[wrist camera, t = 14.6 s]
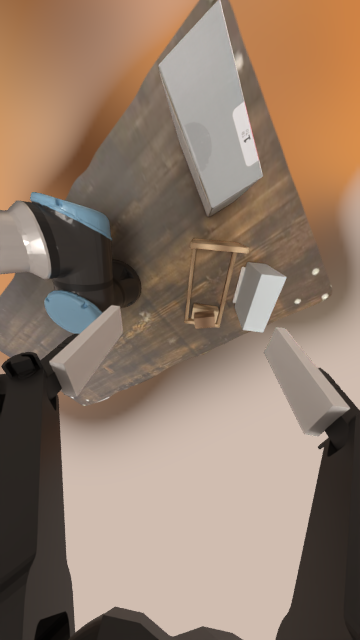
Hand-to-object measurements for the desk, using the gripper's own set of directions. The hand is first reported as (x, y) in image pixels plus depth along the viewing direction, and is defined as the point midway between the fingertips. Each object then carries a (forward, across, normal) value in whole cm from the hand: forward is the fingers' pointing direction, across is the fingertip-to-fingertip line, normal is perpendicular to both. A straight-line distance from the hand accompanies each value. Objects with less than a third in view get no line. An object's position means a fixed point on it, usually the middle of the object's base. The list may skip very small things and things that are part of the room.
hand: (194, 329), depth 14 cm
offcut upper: (+33, +4, -17) cm, 38 cm away
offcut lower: (+37, +5, -17) cm, 41 cm away
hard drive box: (+38, 0, +18) cm, 42 cm away
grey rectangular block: (+36, +16, -7) cm, 40 cm away
